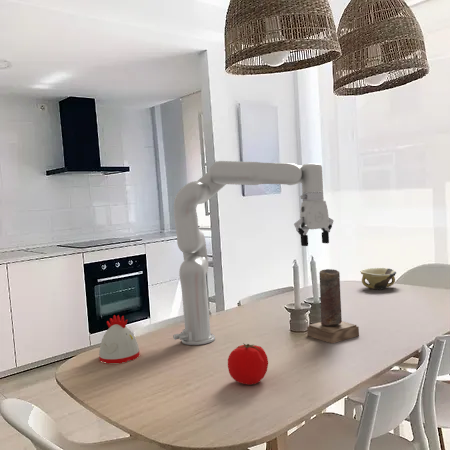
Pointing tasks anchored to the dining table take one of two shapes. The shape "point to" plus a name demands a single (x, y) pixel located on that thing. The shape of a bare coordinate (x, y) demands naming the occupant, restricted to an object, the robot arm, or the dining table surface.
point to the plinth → (333, 332)
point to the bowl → (378, 277)
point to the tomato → (248, 364)
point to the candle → (330, 297)
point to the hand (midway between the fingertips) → (315, 244)
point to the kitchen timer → (118, 343)
